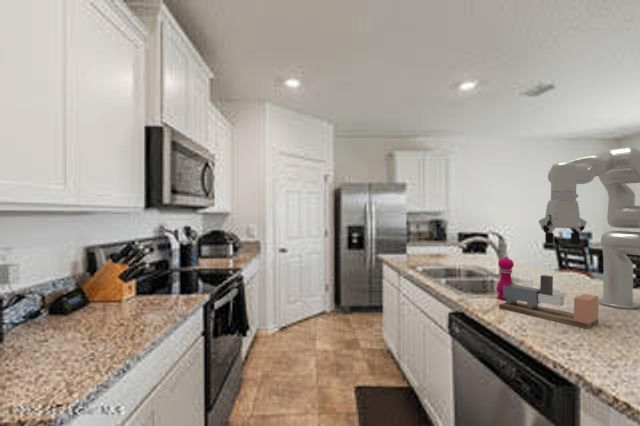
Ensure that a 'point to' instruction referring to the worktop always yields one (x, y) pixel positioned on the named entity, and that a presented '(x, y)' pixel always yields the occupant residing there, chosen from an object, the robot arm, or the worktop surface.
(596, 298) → the socket block
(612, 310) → the worktop surface
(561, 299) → the tube
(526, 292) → the outer sleeve
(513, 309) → the base board
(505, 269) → the pepper mill
